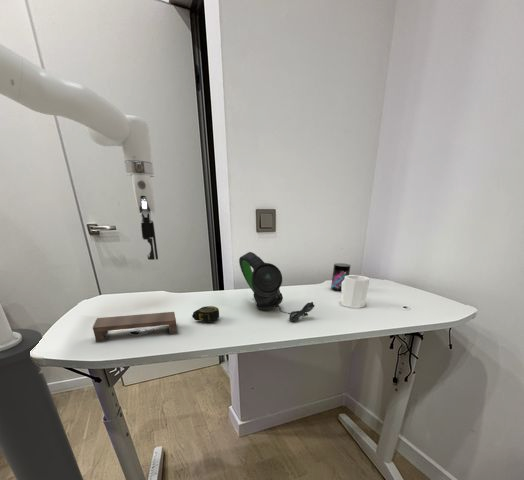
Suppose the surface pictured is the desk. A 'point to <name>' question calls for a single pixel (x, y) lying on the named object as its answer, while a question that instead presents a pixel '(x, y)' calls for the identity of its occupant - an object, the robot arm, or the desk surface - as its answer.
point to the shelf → (133, 323)
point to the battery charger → (152, 246)
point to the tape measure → (206, 314)
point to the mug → (354, 291)
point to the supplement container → (339, 275)
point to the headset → (266, 284)
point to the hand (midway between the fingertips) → (148, 235)
